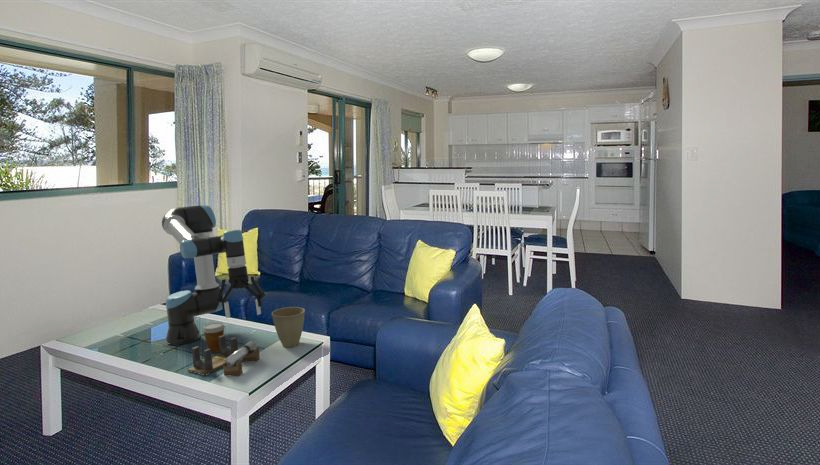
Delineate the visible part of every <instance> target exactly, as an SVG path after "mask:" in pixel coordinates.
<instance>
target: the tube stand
mask: <svg viewBox="0 0 820 465" xmlns="http://www.w3.org/2000/svg"><path fill="white" fill-rule="evenodd" d="M260 360H261V355H260V347H256V349H255V350H253V351H252V352H251V353H250V354H248V355H247V356H245V357H244V358H243V359H241V360H240V361H239V362H237V363H236V364H234V365H233V366H232V367H228V366H227V365H226V364H225V362H224V363H223V367H222V370H223V375H224V376H228V375H231V376H230V377H232V376H233V377H240V376H242V374H243V362H248V363H249V362H250V363H257V362H259V361H260Z"/></svg>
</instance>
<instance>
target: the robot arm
mask: <svg viewBox="0 0 820 465" xmlns="http://www.w3.org/2000/svg"><path fill="white" fill-rule="evenodd" d="M216 223H217V219H216V215H215V213H214V210H213V209H212V208H211V206H210V205H207V204H200V205H192V206H189V205H188V206H179V207H178V206H177V207H174V208H171V209H169V210H168V211H166V213H165V214H164V215H163V217H162V220H161V227H162V229H163V230H164V231H165V232H166V234H168V235H170V236H172V237H173V238H174V239H175V240H176V241H177V243H178V244H179V252H180V255H181V257H182V258H184V259H190V258H191V259H193V260H194V268H195V276H196V285H195V287H194V292H192V291H191V290H180V291H177V292H174V293H172V294H170V295H168V296H167V298H166V299H165V308H166V315H167V322H168V323H167V324H168V329H167V332H166V333H167V334H166V336H165V341H167V342H168V343H170V344H182V345H187V344H190V342H191V343H192V342H193V343H194V342H196V341H198V340H199V339H201V338H200V337H201V334H200V331H199V329H198V326H197V324H196V322H195V317H198V316H204V315H207V314H212V313H213V314H214V313H216V312H218V311H224V313H225V319H229V318H231V312H230V304H229V301H227V300H228V299H229V298H230V296H231V294H232V292H234V289H236V290H237V289H246V290H247V291H248V292H249V293H250V294H251V295H252V296H253V297H254V298H256V299H255V308H256V315H257V316H259V315H261V314H262V311H261V307H262V306H263V301H262V300H263V299H262V298H264V297H266V293H265V291H264V290H263V289H262V286H260V284H259V282H258V281H257V279H256V278H257V277H256V275H252V276H248V267H247V261H246V253H245V247H244V237H243V232H242V230H241V229H233V230H226V231H223V234H221V235H217V236H211V235H212V233H213V232H214V230H213V229H214V228H215V227H216V226H217V224H216ZM224 253H225V259H226V266H227V267H228V268H227V272H228V278H224V279H221V287H220V283H218V282H217V281H216V274H215V267H214V266H215V265H214V259H213V255H217V254H218V255H219V254H224ZM249 282H251V283H252V285H251V284H250V283H249ZM228 284H230V286H229V288H228V290H227V291H226V289H227V287H228ZM252 286H253V287H252ZM254 288H255V289H254ZM225 292H226V293H225ZM167 342H166V343H167ZM186 343H187V344H186Z"/></svg>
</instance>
